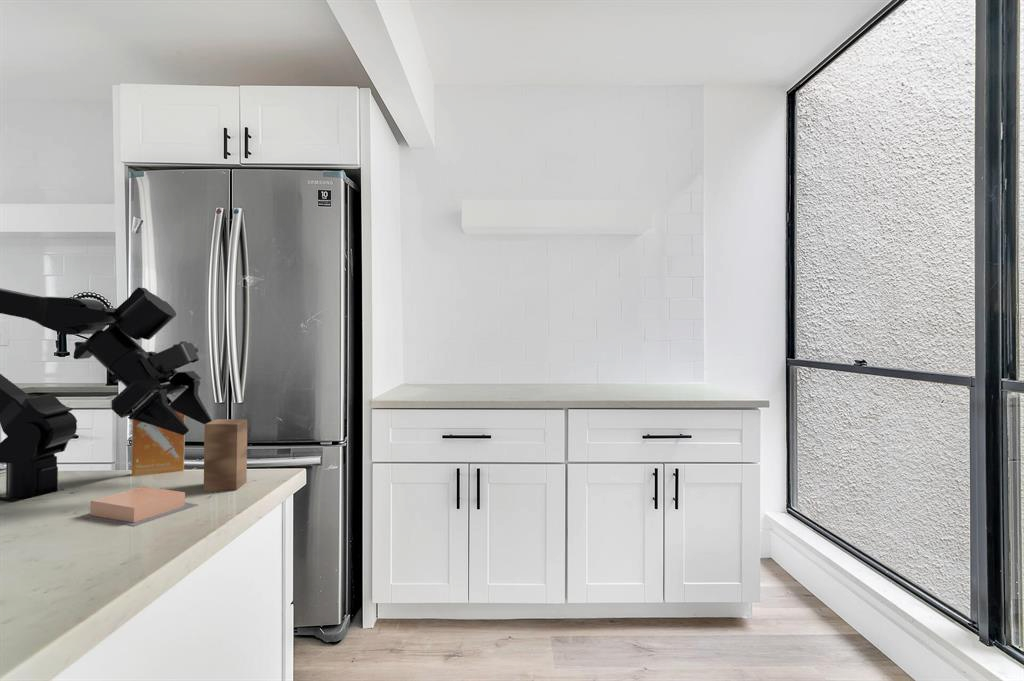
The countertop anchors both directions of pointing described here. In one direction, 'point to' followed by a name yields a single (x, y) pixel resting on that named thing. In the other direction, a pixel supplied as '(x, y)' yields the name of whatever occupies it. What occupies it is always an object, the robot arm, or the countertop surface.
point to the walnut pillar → (225, 454)
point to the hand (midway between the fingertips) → (198, 427)
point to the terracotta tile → (137, 504)
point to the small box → (156, 449)
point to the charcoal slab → (187, 505)
